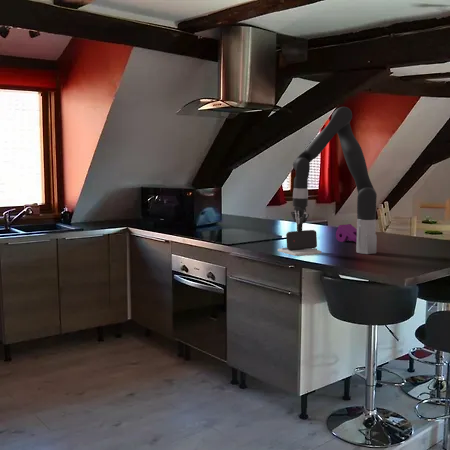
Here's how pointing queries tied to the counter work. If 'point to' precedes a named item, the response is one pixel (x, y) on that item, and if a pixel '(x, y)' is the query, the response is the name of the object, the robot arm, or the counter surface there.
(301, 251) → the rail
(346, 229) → the mounting bracket
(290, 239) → the leaning round-cornered charcoal block
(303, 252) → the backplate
